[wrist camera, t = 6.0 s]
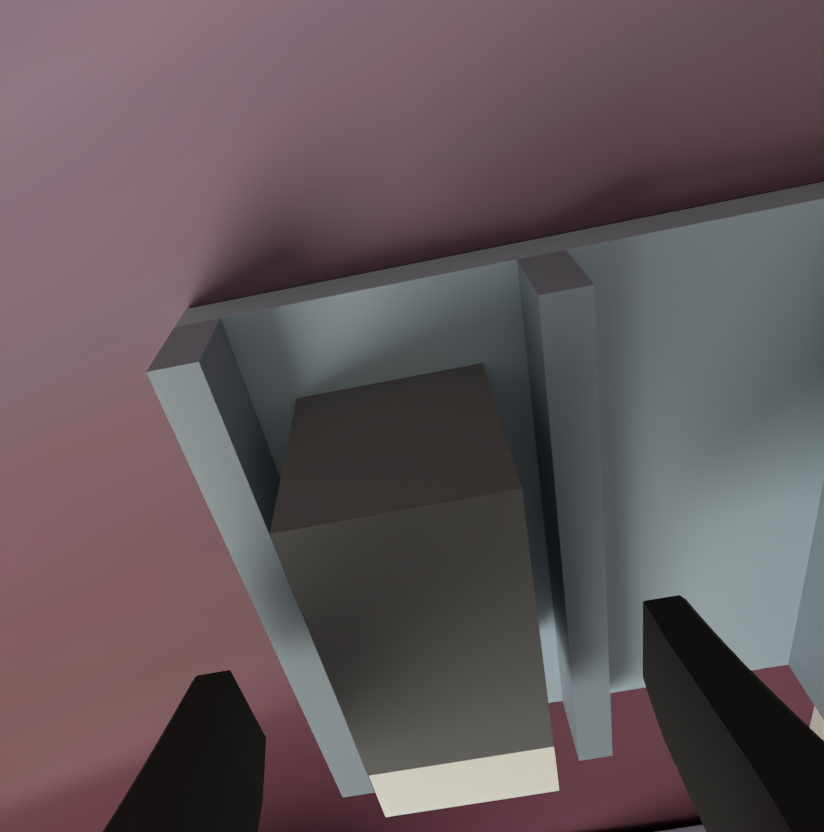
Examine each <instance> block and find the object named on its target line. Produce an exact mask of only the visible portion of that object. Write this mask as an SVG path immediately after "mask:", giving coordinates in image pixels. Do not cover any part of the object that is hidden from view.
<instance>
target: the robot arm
mask: <svg viewBox="0 0 824 832" xmlns="http://www.w3.org/2000/svg"><path fill="white" fill-rule="evenodd" d="M643 679H644V682H645V685H646V688H647V691H648V694H649V697H650V700H651V703H652V706H653V709H654V712H655V715H656V718H657V721H658V724H659V726H660V729H661V732H662V735H663V738H664V740H665V742H666V745H667V747H668V749H669V751H670V754H671V756H672V758H673V760H674V762H675V765H676V767H677V769H678V771H679V773H680V776H681V778H682V780H683V782H684V784H685V787H686V789H687V791H688V793H689V795H690V797H691V800H692V802H693V804H694V806H695V808H696V810H697V813H698V815H699V817H700V819H701V821H702V825H696V826H689V827H682V828H676V829H669V830H662V831H655V832H824V741H823V740H822V739H821V738H820V737H819V736H818V735H817V734H816V733H815V732H814V731H813V730H812V729H810V728H809V727H808V726H807V725H806V724H805V723H804V722H803V721H802V720H801V719H800V718H799V717H798V716H797V715H796V714H795V713H793V712H792V711H791V710H790V709H789V708H788V707H787V706H786V705H785V704H784V703H783V702H782V701H781V700H780V699H779V698H778V697H777V696H776V695H775V694H774V693H773V692H772V691H771V690H770V689H769V688H768V687H767V686H766V685H765V684H764V683H763V682H762V681H761V680H760V679H759V678H758V677H757V676H756V675H755V674H754V673H753V672H752V671H751V670H750V669H749V668H748V667H747V666H746V665H745V664H744V663H743V662H742V661H741V660H740V659H739V658H738V657H737V655H736V654H735V653H734V652H733V651H732V650H731V649H730V648H729V647H728V646H727V645H726V644H725V643H724V642H723V641H722V639H721V638H720V637H719V636H718V635H717V634H716V633H715V632H714V631H713V630H712V629H711V627H710V626H709V625H708V624H707V623H706V622H705V621H704V620H703V618H702V617H701V616H700V615H699V614H698V613H697V612H696V610H695V609H694V608H693V607H692V606H691V605H690V603H689V602H688V601H687V600H686V599H685V598H683V597H682V596H680V595H677V596H671V597H665V598H659V599H653V600H647V601H643ZM265 744H266V737H265V735H264V733H263V731H262V730H261V728H260V726H259V724H258V722H257V720H256V718H255V716H254V714H253V712H252V711H251V709H250V707H249V705H248V703H247V701H246V699H245V697H244V695H243V694H242V692H241V690H240V688H239V686H238V684H237V682H236V680H235V678H234V677H233V675H232V673H231V671H230V670H228V671H222V672H216V673H211V674H205V675H199V676H196V677H195V679H194V680H193V682H192V683H191V685H190V687H189V688H188V690H187V692H186V694H185V695H184V697H183V699H182V701H181V702H180V704H179V706H178V708H177V709H176V711H175V713H174V715H173V716H172V718H171V720H170V722H169V723H168V725H167V727H166V728H165V730H164V732H163V734H162V735H161V737H160V739H159V741H158V742H157V744H156V746H155V747H154V749H153V751H152V752H151V754H150V756H149V758H148V759H147V761H146V763H145V764H144V766H143V768H142V769H141V771H140V772H139V774H138V776H137V777H136V779H135V781H134V782H133V784H132V786H131V787H130V789H129V790H128V792H127V794H126V795H125V797H124V799H123V800H122V802H121V804H120V805H119V807H118V808H117V810H116V812H115V813H114V815H113V816H112V818H111V820H110V821H109V823H108V824H107V826H106V827H105V829H104V830H103V832H258V825H259V819H260V813H261V806H262V799H263V784H264V767H265Z"/></svg>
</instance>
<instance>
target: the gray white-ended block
mask: <svg viewBox="0 0 824 832" xmlns="http://www.w3.org/2000/svg"><path fill="white" fill-rule="evenodd" d="M270 536H271V539H272V541H273V543H274V546H275V548H276V551H277V553H278V556H279V558H280V561H281V563H282V565H283V568H284V570H285V573H286V575H287V578H288V580H289V582H290V585H291V587H292V590H293V592H294V595H295V597H296V600H297V602H298V604H299V607H300V609H301V612H302V614H303V617H304V619H305V622H306V624H307V626H308V629H309V631H310V634H311V636H312V639H313V641H314V644H315V646H316V648H317V651H318V653H319V656H320V658H321V661H322V663H323V666H324V668H325V670H326V673H327V675H328V678H329V680H330V683H331V685H332V688H333V690H334V692H335V695H336V697H337V700H338V702H339V705H340V707H341V710H342V712H343V714H344V717H345V719H346V722H347V724H348V727H349V729H350V731H351V734H352V736H353V739H354V741H355V744H356V746H357V749H358V751H359V753H360V756H361V758H362V761H363V763H364V766H365V768H366V771H367V773H368V775H369V778H370V780H371V783H372V785H373V788H374V790H375V793H376V795H377V797H378V800H379V802H380V805H381V807H382V810H383V812H384V815H385V817H390V816H397V815H403V814H410V813H416V812H423V811H429V810H436V809H442V808H449V807H456V806H462V805H469V804H475V803H482V802H488V801H495V800H501V799H508V798H514V797H521V796H527V795H534V794H540V793H547V792H553V791H559V784H558V775H557V767H556V759H555V751H554V743H553V735H552V727H551V719H550V711H549V703H548V695H547V687H546V679H545V671H544V663H543V655H542V647H541V638H540V630H539V622H538V614H537V606H536V598H535V590H534V582H533V574H532V566H531V558H530V550H529V542H528V534H527V526H526V518H525V510H524V502H523V493H522V487H521V484H520V481H519V478H518V475H517V472H516V468H515V465H514V462H513V459H512V456H511V452H510V449H509V446H508V443H507V440H506V437H505V433H504V430H503V427H502V424H501V421H500V417H499V414H498V411H497V408H496V405H495V402H494V398H493V395H492V392H491V389H490V386H489V383H488V379H487V376H486V373H485V370H484V367H483V363H479V364H474V365H469V366H463V367H458V368H453V369H448V370H443V371H437V372H432V373H427V374H422V375H416V376H411V377H406V378H401V379H395V380H390V381H385V382H380V383H374V384H369V385H364V386H359V387H354V388H348V389H343V390H338V391H333V392H327V393H322V394H317V395H312V396H306V397H301V398H297V399H296V404H295V409H294V414H293V419H292V424H291V429H290V434H289V439H288V444H287V449H286V454H285V459H284V464H283V469H282V474H281V479H280V484H279V489H278V494H277V500H276V505H275V510H274V515H273V520H272V525H271V530H270Z"/></svg>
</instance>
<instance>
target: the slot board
mask: <svg viewBox="0 0 824 832" xmlns="http://www.w3.org/2000/svg"><path fill="white" fill-rule="evenodd" d="M479 363H483V367H484V370H485V373H486V376H487V379H488V383H489V386H490V389H491V392H492V395H493V398H494V402H495V405H496V408H497V411H498V414H499V417H500V421H501V424H502V427H503V430H504V433H505V437H506V440H507V443H508V446H509V449H510V452H511V456H512V459H513V462H514V465H515V468H516V472H517V475H518V478H519V481H520V484H521V487H522V493H523V502H524V510H525V518H526V526H527V534H528V542H529V550H530V558H531V566H532V574H533V582H534V590H535V598H536V606H537V614H538V622H539V630H540V638H541V647H542V655H543V663H544V671H545V679H546V687H547V695H548V703H551V702H557V701H563V704H564V708H565V711H566V715H567V719H568V722H569V726H570V730H571V733H572V737H573V740H574V744H575V748H576V751H577V755H578V758H579V761H581V760H587V759H594V758H600V757H607V756H612V729H611V703H610V693H613V692H620V691H626V690H632V689H638V688H645V687H646V685H645V682H644V679H643V601H647V600H653V599H659V598H665V597H671V596H677V595H680V596H682V597H683V598H685V599H686V600H687V601H688V602H689V603H690V605H691V606H692V607H693V608H694V609H695V610H696V612H697V613H698V614H699V615H700V616H701V617H702V618H703V620H704V621H705V622H706V623H707V624H708V625H709V626H710V627H711V629H712V630H713V631H714V632H715V633H716V634H717V635H718V636H719V637H720V638H721V639H722V641H723V642H724V643H725V644H726V645H727V646H728V647H729V648H730V649H731V650H732V651H733V652H734V653H735V654H736V655H737V657H738V658H739V659H740V660H741V661H742V662H743V663H744V664H745V665H746V666H747V667H748V668H749V669H750V670H757V669H763V668H769V667H775V666H782V665H789V667H790V668H791V670H792V671H793V673H794V674H795V676H796V678H797V679H798V681H799V682H800V684H801V685H802V687H803V688H804V690H805V692H806V693H807V695H808V696H809V698H810V699H811V701H812V703H813V704H814V706H815V707H816V709H817V710H818V712H819V714H820V715H821V717H822V718H823V720H824V182H819V183H814V184H809V185H804V186H799V187H794V188H789V189H784V190H779V191H774V192H769V193H764V194H759V195H754V196H749V197H744V198H739V199H734V200H729V201H724V202H719V203H714V204H709V205H704V206H699V207H694V208H689V209H684V210H679V211H674V212H669V213H664V214H659V215H654V216H649V217H644V218H639V219H634V220H629V221H624V222H619V223H614V224H609V225H604V226H599V227H594V228H589V229H584V230H579V231H574V232H569V233H564V234H559V235H554V236H549V237H544V238H539V239H534V240H529V241H524V242H519V243H514V244H509V245H504V246H499V247H494V248H489V249H484V250H479V251H474V252H469V253H464V254H459V255H454V256H449V257H444V258H439V259H434V260H429V261H424V262H419V263H414V264H409V265H404V266H399V267H394V268H389V269H384V270H379V271H374V272H369V273H364V274H359V275H354V276H349V277H344V278H339V279H334V280H329V281H324V282H319V283H314V284H309V285H304V286H299V287H294V288H289V289H284V290H279V291H274V292H269V293H263V294H258V295H253V296H248V297H243V298H238V299H233V300H228V301H223V302H218V303H213V304H208V305H203V306H198V307H193V308H188V309H186V310H185V312H184V313H183V315H182V316H181V318H180V320H179V321H178V323H177V324H176V326H175V327H174V329H173V331H172V332H171V334H170V335H169V337H168V338H167V340H166V342H165V343H164V345H163V346H162V348H161V350H160V351H159V353H158V354H157V356H156V357H155V359H154V361H153V362H152V364H151V365H150V367H149V368H148V370H147V372H146V373H147V375H148V377H149V379H150V381H151V383H152V386H153V388H154V390H155V392H156V394H157V396H158V399H159V401H160V403H161V405H162V407H163V409H164V412H165V414H166V416H167V418H168V420H169V422H170V425H171V427H172V429H173V431H174V433H175V435H176V438H177V440H178V442H179V444H180V446H181V448H182V451H183V453H184V455H185V457H186V459H187V461H188V464H189V466H190V468H191V470H192V472H193V474H194V477H195V479H196V481H197V483H198V485H199V487H200V490H201V492H202V494H203V496H204V498H205V500H206V503H207V505H208V507H209V509H210V511H211V513H212V515H213V518H214V520H215V522H216V524H217V526H218V528H219V531H220V533H221V535H222V537H223V539H224V541H225V544H226V546H227V548H228V550H229V552H230V554H231V557H232V559H233V561H234V563H235V565H236V567H237V570H238V572H239V574H240V576H241V578H242V580H243V583H244V585H245V587H246V589H247V591H248V593H249V596H250V598H251V600H252V602H253V604H254V606H255V609H256V611H257V613H258V615H259V617H260V619H261V622H262V624H263V626H264V628H265V630H266V632H267V635H268V637H269V639H270V641H271V643H272V645H273V648H274V650H275V652H276V654H277V656H278V658H279V661H280V663H281V665H282V667H283V669H284V671H285V674H286V676H287V678H288V680H289V682H290V684H291V686H292V689H293V691H294V693H295V695H296V697H297V699H298V702H299V704H300V706H301V708H302V710H303V712H304V715H305V717H306V719H307V721H308V723H309V725H310V728H311V730H312V732H313V734H314V736H315V738H316V741H317V743H318V745H319V747H320V749H321V751H322V754H323V756H324V758H325V760H326V762H327V764H328V767H329V769H330V771H331V773H332V775H333V777H334V780H335V782H336V784H337V786H338V788H339V790H340V793H341V795H342V797H349V796H356V795H362V794H368V793H375V790H374V788H373V785H372V783H371V780H370V778H369V775H368V773H367V771H366V768H365V766H364V763H363V761H362V758H361V756H360V753H359V751H358V749H357V746H356V744H355V741H354V739H353V736H352V734H351V731H350V729H349V727H348V724H347V722H346V719H345V717H344V714H343V712H342V710H341V707H340V705H339V702H338V700H337V697H336V695H335V692H334V690H333V688H332V685H331V683H330V680H329V678H328V675H327V673H326V670H325V668H324V666H323V663H322V661H321V658H320V656H319V653H318V651H317V648H316V646H315V644H314V641H313V639H312V636H311V634H310V631H309V629H308V626H307V624H306V622H305V619H304V617H303V614H302V612H301V609H300V607H299V604H298V602H297V600H296V597H295V595H294V592H293V590H292V587H291V585H290V582H289V580H288V578H287V575H286V573H285V570H284V568H283V565H282V563H281V561H280V558H279V556H278V553H277V551H276V548H275V546H274V543H273V541H272V539H271V536H270V530H271V525H272V520H273V515H274V510H275V505H276V500H277V494H278V489H279V484H280V479H281V474H282V469H283V464H284V459H285V454H286V449H287V444H288V439H289V434H290V429H291V424H292V419H293V414H294V409H295V404H296V399H297V398H301V397H306V396H312V395H317V394H322V393H327V392H333V391H338V390H343V389H348V388H354V387H359V386H364V385H369V384H374V383H380V382H385V381H390V380H395V379H401V378H406V377H411V376H416V375H422V374H427V373H432V372H437V371H443V370H448V369H453V368H458V367H463V366H469V365H474V364H479Z"/></svg>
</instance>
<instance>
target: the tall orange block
mask: <svg viewBox="0 0 824 832" xmlns="http://www.w3.org/2000/svg"><path fill="white" fill-rule="evenodd" d="M810 729H812V730H813V731H814V732H815V733H816V734H817V735H818V736H819V737H820V738H821V739H822V740H823V741H824V720H823V718H822V717H821V715H820V714H819V712H818V710H817V709H816V707H814V711H813V715H812V719H811V724H810Z"/></svg>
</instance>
